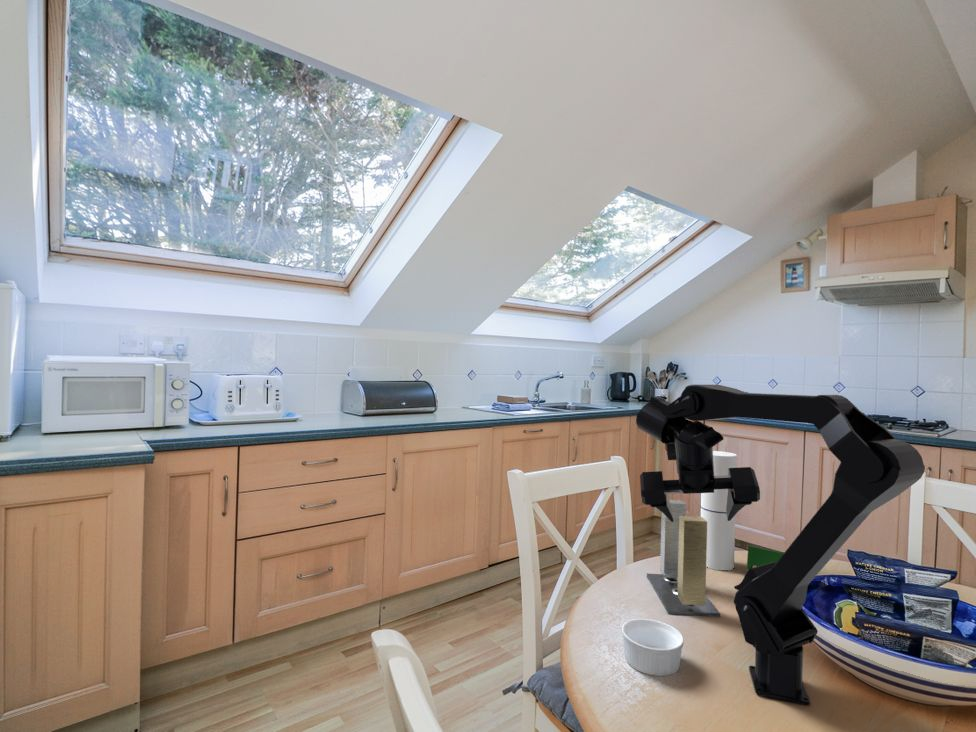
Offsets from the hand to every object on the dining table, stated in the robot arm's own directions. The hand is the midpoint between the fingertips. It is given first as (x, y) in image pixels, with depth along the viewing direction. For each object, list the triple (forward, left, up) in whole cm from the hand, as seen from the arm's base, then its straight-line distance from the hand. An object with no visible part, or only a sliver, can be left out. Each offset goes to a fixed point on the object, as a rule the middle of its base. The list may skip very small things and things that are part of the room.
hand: (699, 519), depth 93 cm
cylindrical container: (+26, -5, -17) cm, 32 cm away
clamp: (+24, -17, -17) cm, 34 cm away
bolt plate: (+6, +3, -17) cm, 18 cm away
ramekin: (-20, +7, -17) cm, 27 cm away
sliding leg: (0, +1, -17) cm, 17 cm away
